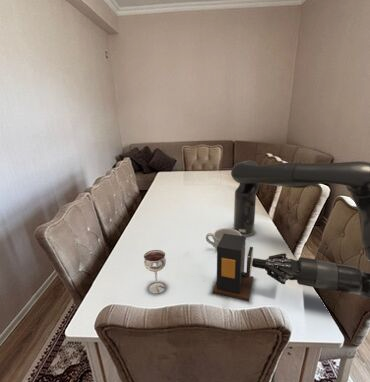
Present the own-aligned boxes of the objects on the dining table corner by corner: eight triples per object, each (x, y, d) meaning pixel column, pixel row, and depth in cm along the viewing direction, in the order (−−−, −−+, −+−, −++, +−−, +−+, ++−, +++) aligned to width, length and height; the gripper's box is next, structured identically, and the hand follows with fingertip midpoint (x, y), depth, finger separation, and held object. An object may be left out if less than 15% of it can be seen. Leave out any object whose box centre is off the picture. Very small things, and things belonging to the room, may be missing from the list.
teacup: (243, 248, 103) (244, 230, 100) (237, 262, 93) (237, 242, 91) (211, 242, 108) (211, 225, 106) (202, 254, 99) (202, 236, 97)
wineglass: (149, 298, 76) (146, 263, 73) (144, 285, 82) (141, 252, 79) (170, 291, 79) (168, 258, 75) (163, 279, 85) (161, 247, 81)
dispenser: (220, 273, 87) (221, 231, 82) (253, 279, 83) (256, 236, 78) (212, 293, 77) (212, 247, 72) (248, 301, 73) (251, 254, 69)
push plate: (248, 266, 79) (249, 246, 77) (252, 266, 79) (253, 247, 77) (246, 277, 74) (247, 256, 72) (249, 277, 74) (250, 257, 72)
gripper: (315, 249, 74) (255, 241, 80) (321, 275, 62) (250, 263, 68) (312, 271, 76) (254, 261, 82) (317, 300, 64) (248, 286, 71)
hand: (252, 262), depth 75 cm, fingers closed
